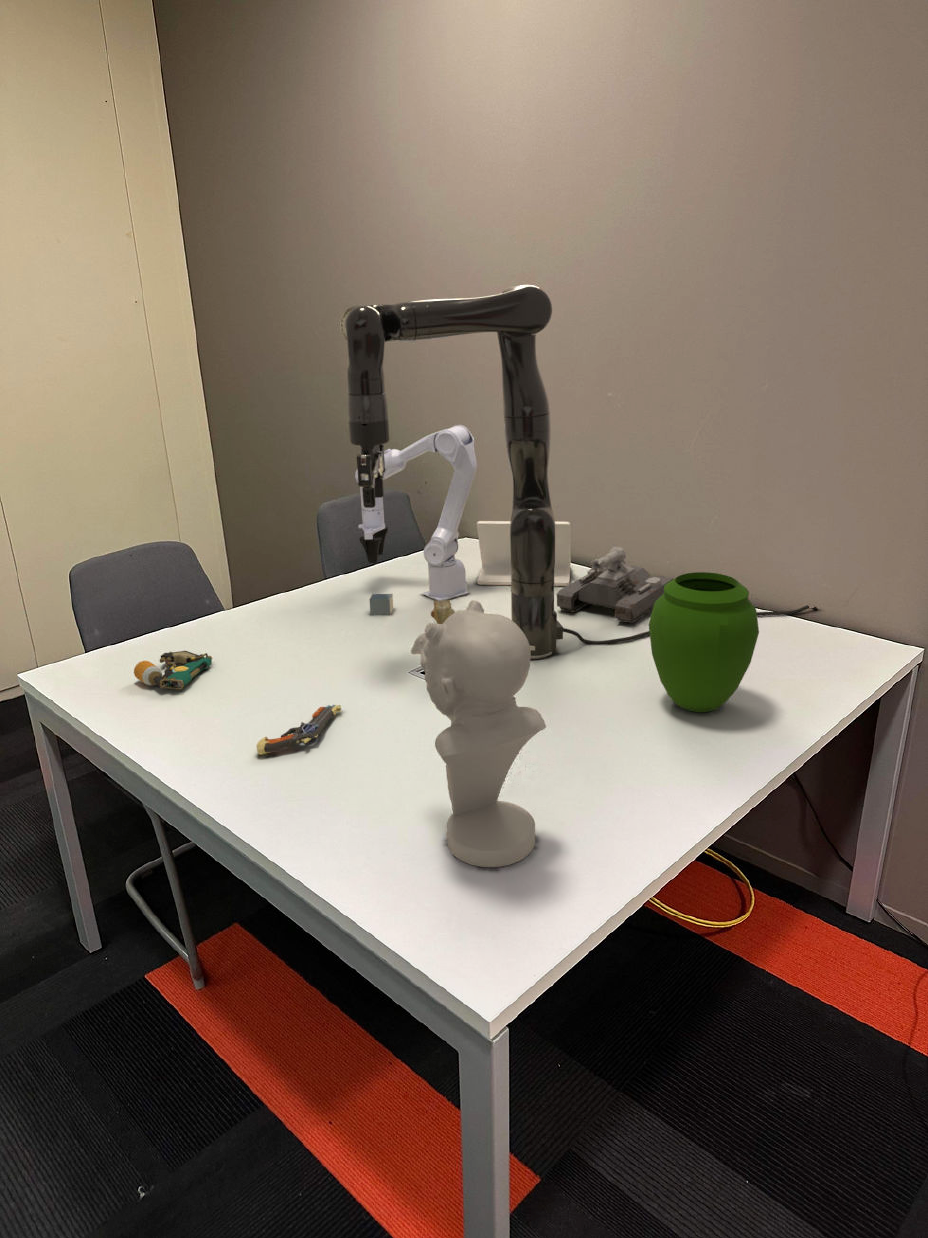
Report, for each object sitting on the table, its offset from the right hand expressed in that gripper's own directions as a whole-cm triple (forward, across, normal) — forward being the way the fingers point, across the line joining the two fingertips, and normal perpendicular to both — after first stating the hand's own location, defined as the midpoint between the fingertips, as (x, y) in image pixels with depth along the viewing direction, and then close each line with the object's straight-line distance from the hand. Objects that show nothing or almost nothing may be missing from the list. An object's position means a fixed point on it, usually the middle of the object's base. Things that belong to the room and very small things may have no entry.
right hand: (374, 502), depth 167 cm
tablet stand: (+37, -67, +27) cm, 81 cm away
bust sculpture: (+36, +56, +23) cm, 71 cm away
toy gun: (+36, +28, -11) cm, 47 cm away
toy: (+37, -43, +51) cm, 76 cm away
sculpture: (+36, -1, +12) cm, 39 cm away
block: (+36, -36, -8) cm, 52 cm away
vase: (+37, +13, +62) cm, 73 cm away
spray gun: (+36, +4, -44) cm, 57 cm away
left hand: (+28, -54, -12) cm, 62 cm away
